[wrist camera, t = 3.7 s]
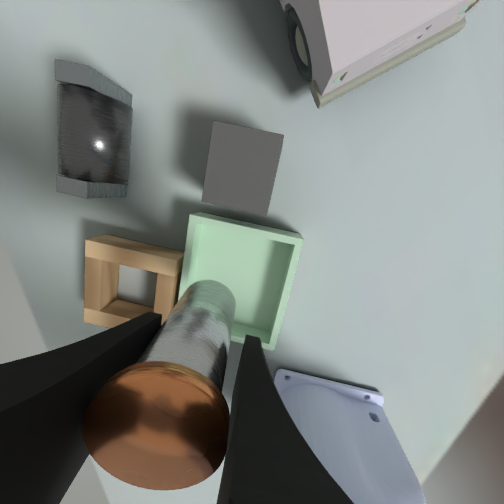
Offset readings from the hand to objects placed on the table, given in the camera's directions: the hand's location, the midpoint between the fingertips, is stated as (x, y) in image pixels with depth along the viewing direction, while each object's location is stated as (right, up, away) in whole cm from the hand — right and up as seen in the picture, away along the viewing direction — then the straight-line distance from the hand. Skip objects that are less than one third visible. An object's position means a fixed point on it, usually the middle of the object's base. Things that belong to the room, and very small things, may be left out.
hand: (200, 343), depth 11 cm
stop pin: (0, +1, +3) cm, 3 cm away
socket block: (-7, +2, +10) cm, 12 cm away
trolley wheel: (-8, +12, +7) cm, 16 cm away
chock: (+2, +10, +7) cm, 12 cm away
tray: (+1, +2, +9) cm, 9 cm away
